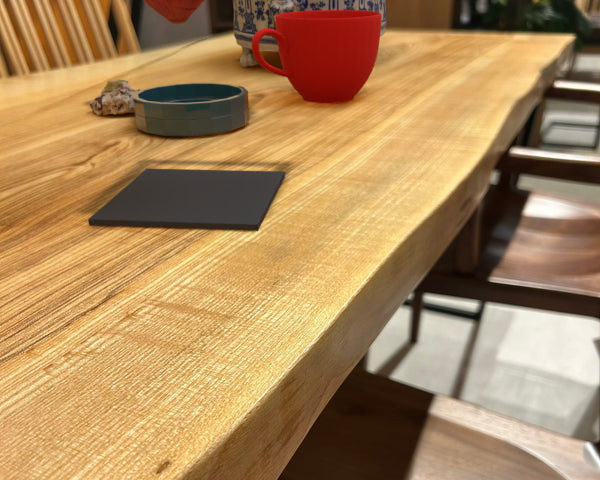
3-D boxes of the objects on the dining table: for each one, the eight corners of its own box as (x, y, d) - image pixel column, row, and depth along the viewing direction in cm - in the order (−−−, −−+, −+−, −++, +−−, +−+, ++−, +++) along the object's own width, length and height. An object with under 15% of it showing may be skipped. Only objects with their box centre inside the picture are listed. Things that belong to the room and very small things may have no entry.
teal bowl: (120, 138, 66) (115, 103, 64) (158, 112, 77) (154, 82, 75) (235, 139, 65) (233, 104, 63) (257, 113, 75) (256, 82, 74)
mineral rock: (164, 94, 75) (93, 78, 72) (159, 131, 76) (88, 117, 73) (155, 82, 84) (91, 68, 81) (150, 116, 85) (87, 103, 82)
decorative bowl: (372, 79, 94) (376, -35, 87) (201, 76, 99) (192, -32, 92) (393, 44, 131) (397, -39, 124) (267, 43, 136) (264, -36, 129)
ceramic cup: (233, 100, 83) (227, 15, 78) (341, 86, 90) (342, 8, 85) (281, 118, 73) (278, 23, 68) (399, 100, 80) (403, 13, 75)
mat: (88, 225, 44) (87, 218, 44) (147, 174, 55) (146, 168, 55) (258, 231, 43) (257, 224, 43) (285, 177, 53) (284, 171, 53)
